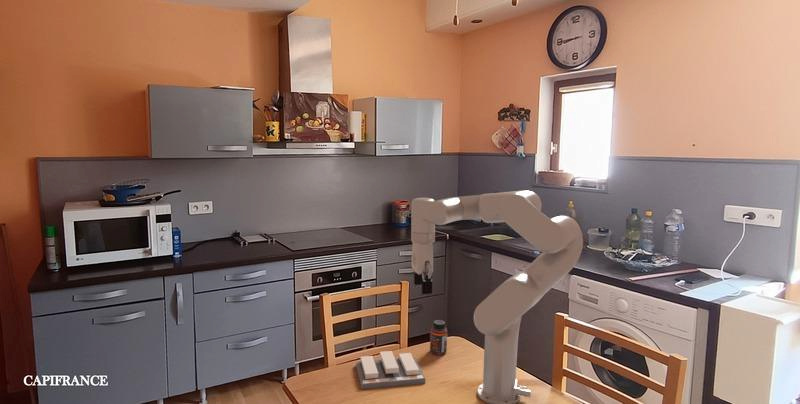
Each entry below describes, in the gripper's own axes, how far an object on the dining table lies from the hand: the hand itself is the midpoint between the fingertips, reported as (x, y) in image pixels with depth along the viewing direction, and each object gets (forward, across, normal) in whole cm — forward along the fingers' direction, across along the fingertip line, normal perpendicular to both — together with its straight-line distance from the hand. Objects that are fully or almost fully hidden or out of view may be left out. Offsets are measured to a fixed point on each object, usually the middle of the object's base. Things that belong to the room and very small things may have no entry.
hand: (422, 288), depth 159 cm
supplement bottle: (+28, -12, +9) cm, 31 cm away
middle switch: (+25, 0, -11) cm, 27 cm away
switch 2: (+26, 0, -5) cm, 26 cm away
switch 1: (+26, 0, -18) cm, 31 cm away
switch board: (+28, +1, -11) cm, 30 cm away
